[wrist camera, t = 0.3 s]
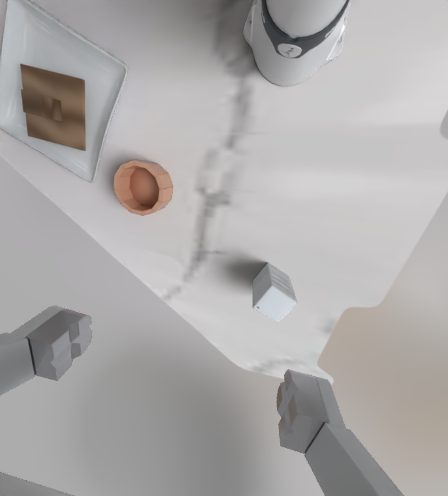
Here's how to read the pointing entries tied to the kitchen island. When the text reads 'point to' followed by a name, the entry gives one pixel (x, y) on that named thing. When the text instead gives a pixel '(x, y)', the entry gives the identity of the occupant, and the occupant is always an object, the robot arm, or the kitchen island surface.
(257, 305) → the supplement box
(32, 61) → the square plate
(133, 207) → the terracotta bowl
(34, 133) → the walnut lid
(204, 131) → the kitchen island surface
